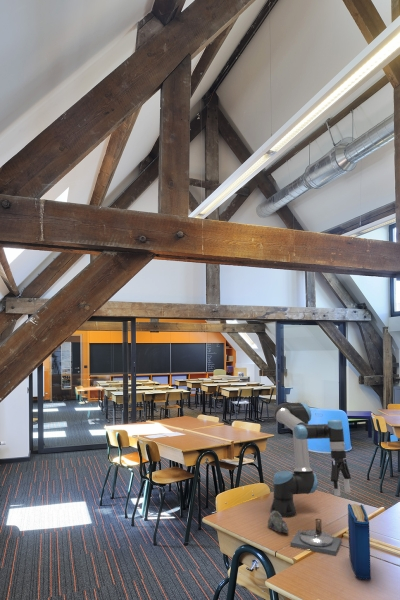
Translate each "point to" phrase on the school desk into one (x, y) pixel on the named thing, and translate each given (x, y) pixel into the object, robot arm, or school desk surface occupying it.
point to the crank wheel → (316, 536)
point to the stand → (329, 549)
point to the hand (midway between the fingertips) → (342, 494)
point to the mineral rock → (277, 522)
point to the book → (359, 541)
